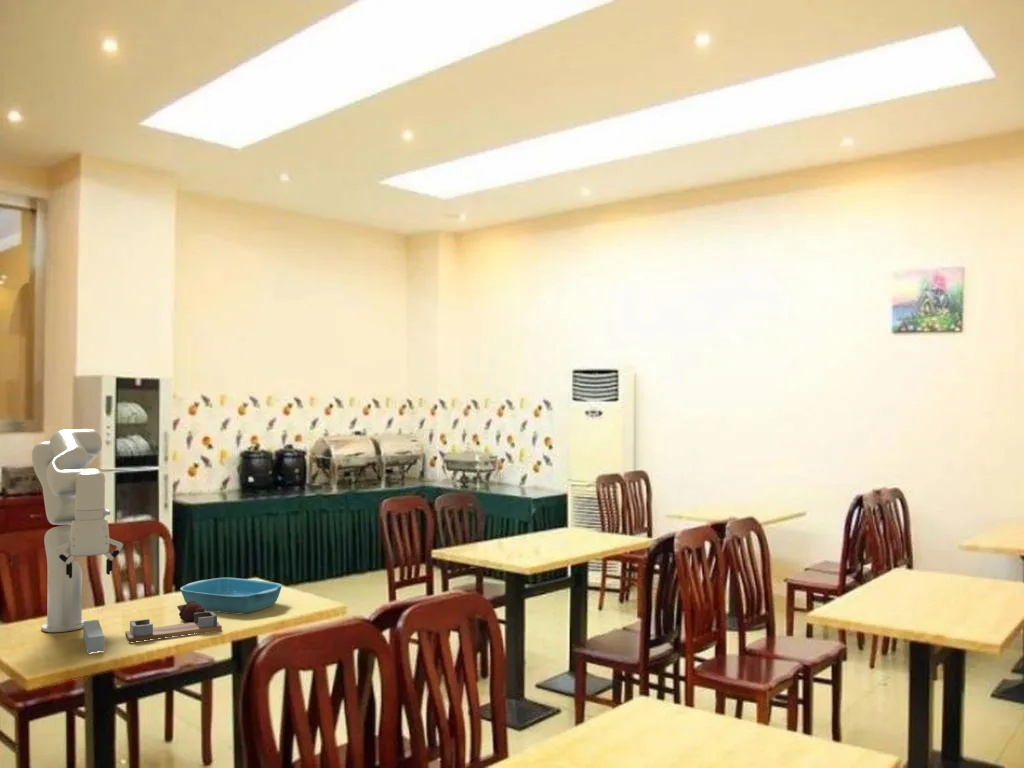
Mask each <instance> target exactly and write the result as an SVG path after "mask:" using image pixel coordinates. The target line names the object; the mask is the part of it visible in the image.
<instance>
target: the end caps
mask: <svg viewBox="0 0 1024 768" xmlns="http://www.w3.org/2000/svg"><path fill="white" fill-rule="evenodd" d="M217 622H218V616H217V614H215V612H214V611H210V610H206V611H205V612H199V613H194V623H198V628H206V627H213V626H217ZM153 628H154V623H151V622H150V618H144V619H137V620H130V621H129V631H130V632H131V634H132V636H133V637H139V636H147V635H153Z"/></svg>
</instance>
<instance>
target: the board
mask: <svg viewBox="0 0 1024 768" xmlns="http://www.w3.org/2000/svg"><path fill="white" fill-rule="evenodd" d="M222 628H223V627H222V625H221V624H220V623H219V622H218V621H217V626H213V627H206V628H198V623H194V622H192V623H190V622H188V623H185V622H183V623H179V624H171V625H162V626H156V627H154V626H153V635H147V636H139V637H133V636H132V634H131V632H130V630H125V633H124V635H125V636H126V637H125V638H126V640H127V642H128V641H129V642H128V644H129V643H130V642H136V641H144V640H150V639H158V638H165V637H172V636H181V635H188V634H194V633H195V634H196V633H203V634H206V633H205V632H210V633H214V631H217V632H221V631H222ZM196 635H197V634H196ZM188 636H189V635H188ZM181 637H182V636H181ZM130 644H131V643H130Z"/></svg>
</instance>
